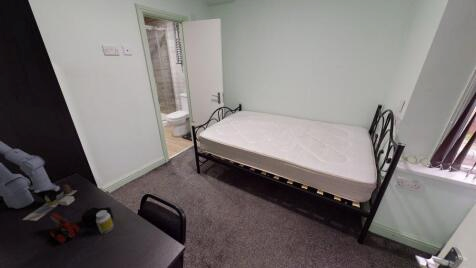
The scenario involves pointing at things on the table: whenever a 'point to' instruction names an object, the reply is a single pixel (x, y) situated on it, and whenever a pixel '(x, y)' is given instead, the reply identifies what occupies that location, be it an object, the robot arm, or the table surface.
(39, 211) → the board
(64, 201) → the die
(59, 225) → the toy fire truck
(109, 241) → the table surface
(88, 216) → the digital camera
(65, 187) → the pawn
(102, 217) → the supplement bottle
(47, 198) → the pawn
